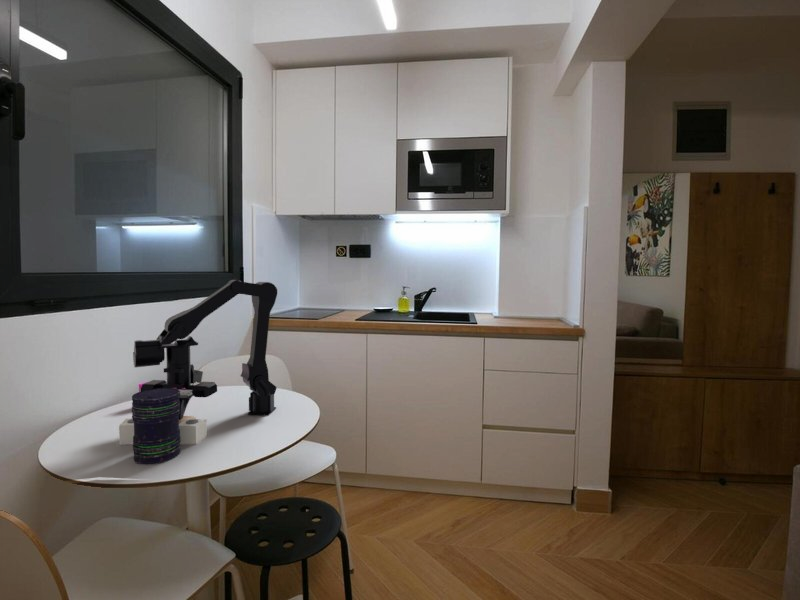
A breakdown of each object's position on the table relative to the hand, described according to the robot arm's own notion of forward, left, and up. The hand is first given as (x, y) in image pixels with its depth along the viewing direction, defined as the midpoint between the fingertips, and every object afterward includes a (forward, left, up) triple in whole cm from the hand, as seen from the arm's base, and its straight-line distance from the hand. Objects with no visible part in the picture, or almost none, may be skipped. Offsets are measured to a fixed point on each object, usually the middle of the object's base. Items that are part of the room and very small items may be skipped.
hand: (179, 419), depth 116 cm
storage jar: (-4, +15, -4) cm, 16 cm away
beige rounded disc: (0, 0, -3) cm, 3 cm away
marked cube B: (+8, +7, -3) cm, 11 cm away
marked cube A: (-7, +6, -3) cm, 10 cm away
